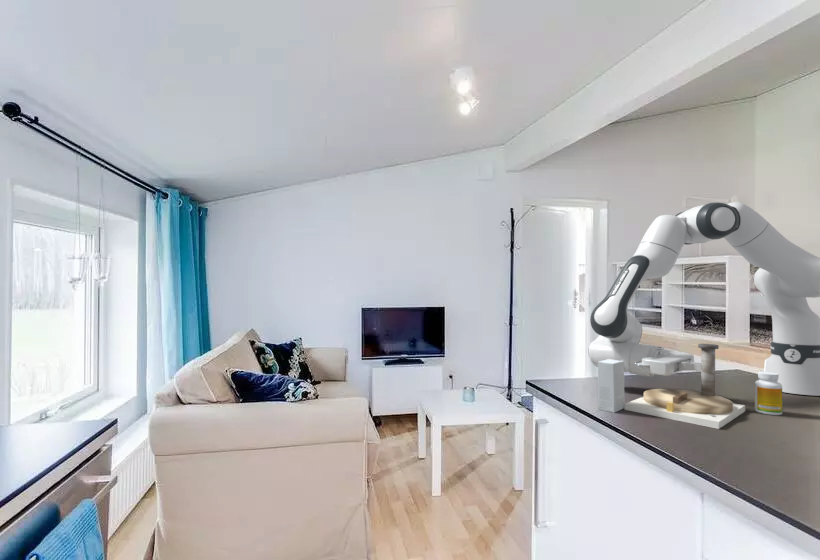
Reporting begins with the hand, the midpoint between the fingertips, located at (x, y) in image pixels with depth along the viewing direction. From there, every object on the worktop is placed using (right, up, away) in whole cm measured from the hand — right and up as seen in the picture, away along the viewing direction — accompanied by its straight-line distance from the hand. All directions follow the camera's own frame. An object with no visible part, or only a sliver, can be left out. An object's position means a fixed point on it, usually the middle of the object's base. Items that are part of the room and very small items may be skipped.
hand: (702, 367), depth 119 cm
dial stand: (-8, -10, -5) cm, 14 cm away
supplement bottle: (+12, -10, -7) cm, 17 cm away
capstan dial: (-7, -8, -5) cm, 12 cm away
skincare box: (-26, -10, -5) cm, 28 cm away
